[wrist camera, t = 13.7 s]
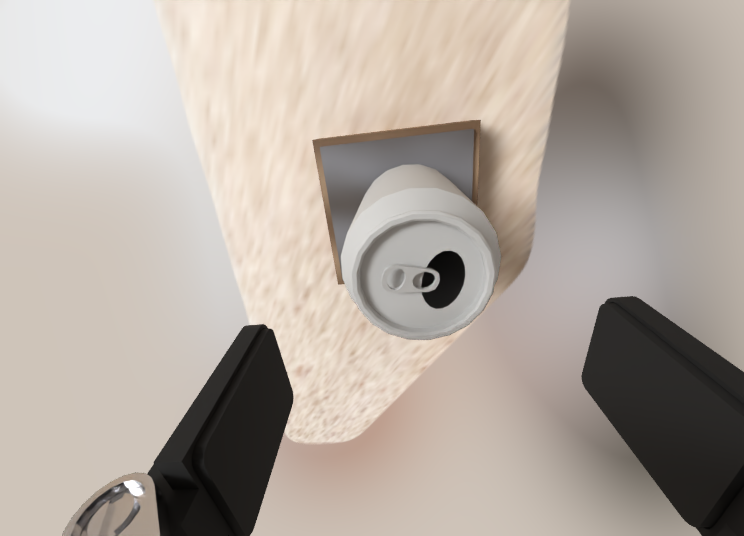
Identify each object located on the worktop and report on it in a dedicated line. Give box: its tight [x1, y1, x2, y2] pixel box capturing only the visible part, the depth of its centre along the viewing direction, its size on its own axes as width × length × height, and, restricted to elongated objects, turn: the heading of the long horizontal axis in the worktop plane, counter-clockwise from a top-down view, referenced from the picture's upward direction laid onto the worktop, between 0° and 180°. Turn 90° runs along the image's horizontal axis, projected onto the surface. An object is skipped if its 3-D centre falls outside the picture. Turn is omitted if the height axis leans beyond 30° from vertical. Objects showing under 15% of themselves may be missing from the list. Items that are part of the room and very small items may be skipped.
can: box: [341, 164, 501, 340], centre depth 18 cm, size 8×8×12 cm
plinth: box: [312, 120, 481, 284], centre depth 25 cm, size 12×12×3 cm
